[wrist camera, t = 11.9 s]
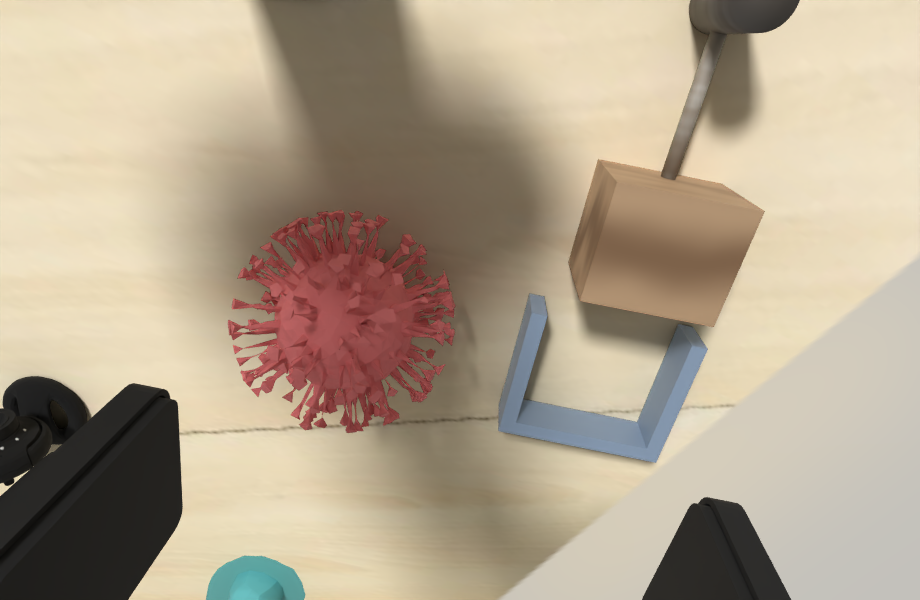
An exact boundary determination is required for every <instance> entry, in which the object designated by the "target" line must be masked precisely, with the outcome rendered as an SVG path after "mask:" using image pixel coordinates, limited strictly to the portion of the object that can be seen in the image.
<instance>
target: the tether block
mask: <svg viewBox="0 0 920 600" xmlns="http://www.w3.org/2000/svg"><path fill="white" fill-rule="evenodd" d="M799 1H800V0H690V5H689V15H690V19H691V22H692V24H693V25H694V27H695V28H696V29H697V30H699V31H700V32H702V33H704V34H708V35H709V36H708V39H707V42H706V45H705V48H704V51H703V54H702V57H701V60H700V62H699V65H698V68H697V71H696V74H695V77H694V80H693V83H692V86H691V89H690V91H689V94H688V97H687V100H686V103H685V106H684V109H683V112H682V115H681V118H680V121H679V123H678V126H677V129H676V132H675V135H674V138H673V141H672V144H671V147H670V150H669V153H668V155H667V158H666V161H665V164H664V167H663V170H662V172H660V171H655V170H650V169H645V168H640V167H635V166H630V165H625V164H620V163H614V162H609V161H604V160H599V159H598V162H597V165H596V169H595V172H594V176H593V179H592V182H591V186H590V189H589V193H588V196H587V200H586V203H585V207H584V210H583V214H582V217H581V221H580V224H579V227H578V231H577V234H576V238H575V241H574V245H573V248H572V252H571V255H570V259H569V262H568V263H569V266H570V269H571V272H572V276H573V279H574V282H575V286H576V289H577V292H578V296H579V299H580V301H582V302H587V303H592V304H597V305H603V306H608V307H613V308H618V309H623V310H628V311H633V312H639V313H644V314H649V315H654V316H659V317H664V318H669V319H674V320H680V321H685V322H690V323H695V324H700V325H705V326H710V327H714V325H715V323H716V321H717V318H718V316H719V314H720V312H721V309H722V307H723V305H724V303H725V300H726V298H727V296H728V293H729V291H730V289H731V287H732V284H733V282H734V280H735V278H736V275H737V273H738V271H739V269H740V266H741V264H742V262H743V259H744V257H745V255H746V253H747V250H748V248H749V246H750V244H751V241H752V239H753V237H754V235H755V232H756V230H757V228H758V226H759V223H760V221H761V219H762V216H763V214H764V212H765V211H763V210H762V209H760V208H759V207H757V206H756V205H754V204H752V203H751V202H749V201H748V200H746V199H745V198H743V197H742V196H740V195H738V194H737V193H735V192H734V191H732V190H731V189H729V188H728V187H726V186H724V185H723V184H720V183H715V182H710V181H705V180H700V179H695V178H690V177H685V176H680V175H677V174H678V171H679V168H680V165H681V163H682V160H683V157H684V154H685V151H686V149H687V146H688V143H689V140H690V137H691V135H692V132H693V129H694V126H695V123H696V121H697V118H698V115H699V112H700V109H701V107H702V104H703V101H704V98H705V95H706V93H707V90H708V87H709V84H710V81H711V79H712V76H713V73H714V70H715V67H716V65H717V62H718V59H719V56H720V53H721V51H722V48H723V45H724V42H725V39H726V37H727V34H745V33H764V32H768V31H771V30H774V29H776V28H777V27H779V26H781V25H782V24H783V23H784V22H786V21H787V20H788V19H789V18H790V16H791V15H792V14H793V12H794V11H795V9H796V8H797V5H798V3H799Z"/></svg>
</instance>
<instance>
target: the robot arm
mask: <svg viewBox="0 0 920 600" xmlns="http://www.w3.org/2000/svg"><path fill="white" fill-rule="evenodd" d="M182 507H183V506H182V485H181V463H180V441H179V419H178V404H177V402H176V401H175V400H172V399H170V395H169V393H168V391H167V390H165V389H160V388H155V387H150V386H145V385H140V384H135V383H133V384H129V385H128V386H127V387H125V388H124V389H123V390H122V391H121V392H119V393H118V394H117V395H116V396H115V397H114V398H113V399H112V400H111V401H110V402H108V403H107V404H106V405H105V406H104V407H103V408H102V409H101V410H100V411H99V412H97V413H96V414H95V415H94V416H93V417H92V418H91V419H90V420H89V421H88V422H86V423H85V424H84V425H83V426H82V427H81V428H80V429H79V430H78V431H76V432H75V433H74V434H73V435H72V436H71V437H70V438H69V439H68V440H67V441H65V442H64V443H63V444H62V445H61V446H60V447H59V448H58V449H57V450H56V451H54V452H51V453H50V454H48V455H47V456H46V457H44V458H43V459H41V460H40V461H39V462H38V463H37V464H36V465H35V466H34V467H32V468H31V469H30V470H29V471H28V472H27V473H26V474H25V475H24V476H22V477H21V478H20V479H19V480H18V481H17V482H16V483H15V484H14V485H12V486H11V487H10V488H9V489H8V490H7V491H6V492H5V493H3V494H2V495H1V496H0V600H128V599H129V597H130V596H131V594H132V593H133V591H134V590H135V588H136V587H137V586H138V584H139V583H140V581H141V580H142V578H143V577H144V575H145V574H146V572H147V571H148V569H149V568H150V566H151V565H152V563H153V562H154V560H155V559H156V557H157V556H158V554H159V553H160V551H161V550H162V549H163V547H164V546H165V544H166V543H167V541H168V540H169V538H170V537H171V535H172V534H173V532H174V531H175V529H176V527H177V525H178V523H179V521H180V518H181V514H182ZM642 600H791V598H790V597H789V595H788V593H787V591H786V589H785V587H784V585H783V583H782V582H781V579H780V577H779V575H778V573H777V572H776V570H775V568H774V566H773V564H772V562H771V560H770V558H769V556H768V555H767V553H766V551H765V549H764V547H763V545H762V543H761V541H760V539H759V537H758V535H757V533H756V531H755V529H754V527H753V526H752V524H751V522H750V520H749V518H748V516H747V514H746V512H745V510H744V509H743V508H742V506H741V505H739V504H738V503H733V502H729V501H724V500H718V499H713V498H708V497H706V498H703V499H701V501H700V502H699V503H698V504H695V503H694V504H692V505H691V506H690V507H689V509H688V511H687V513H686V514H685V516H684V518H683V520H682V522H681V524H680V526H679V528H678V530H677V532H676V534H675V536H674V538H673V540H672V542H671V544H670V546H669V547H668V550H667V551H666V553H665V555H664V557H663V559H662V561H661V563H660V565H659V567H658V569H657V571H656V573H655V575H654V577H653V579H652V581H651V582H650V584H649V587H648V588H647V590H646V592H645V594H644V596H643V599H642Z"/></svg>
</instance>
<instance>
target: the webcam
mask: <svg viewBox="0 0 920 600" xmlns="http://www.w3.org/2000/svg"><path fill="white" fill-rule="evenodd" d="M51 400H54V401H56V402H57V403H58V404H59V405H60V406H61V407H62V408H63V409H64V411H65V412H66V414H67V417H68V425H67V427H66V428H64V429H58V428H57V426H56V424H55V423H54V421H53V418H52V415H51V411H50V402H51ZM3 408H4V409H0V483H4V484H5V485H6V486H9V485H11V484H13V483H14V478H15V477H17V476H19V475H21V474H23V473H25V472H26V471H28V470H30V469H31V468H32V467H33V466H35V465H36V464H37V463H38V462H39V461H40V460H41V459H43V458H44V457H45V456H46V454H47V453H48V451H49V449H50V447H51V444H63V443H64V442H65V441H67V440H68V439H69V438H70V437H71V436H72V435H73V434H74V433H75V432H76V431H78V430H79V429H80V428H81V427H82V426H83V425H84V424H85V423H86V422H87V415H86V411H85V408H84V406H83V404H82V402H81V401H80V400H79V398H78V397H77V396H76V395H75V394H74V393H73V392H72V391H71V390H69V389H68V388H66V387H65V386H63V385H62V384H60V383H58V382H57V381H55V380H52V379H49V378H44V377H39V376H31V377H25V378H21V379H18V380H16V381H15V382H13V383H12V384H11V385H10V386H9V387H8V388H7V389H6V391H5V393H4V396H3Z"/></svg>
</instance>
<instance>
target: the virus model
mask: <svg viewBox="0 0 920 600" xmlns="http://www.w3.org/2000/svg"><path fill="white" fill-rule="evenodd" d="M327 212H328V211H327ZM327 212H320V213H317V214H318V215H319V216H318V217H314V218H311V221H312V222H313V223H314V226H311V227H308V217H305V218H298V219H296V220H295V221H293V222H292V223H290V225H289V224H288V225H286V226H285V227H283V228H282V227H281V228H280V229H279V230H278V231H276V232H275V233H273V235H272V236H270V237H271V238H273V239H274V240H276V241H277V242H279V243H280V244H282V245H283V246H285V247H286V248H287V250H288V251H289V253H290V254H291V256H292V257H293V259H294V260H295V261H296V264H295V265H294V266H293V268H291V267H290V266H289V265H288V264H286V263H285V262H284V261H283V260H282V258H280V256H279V255H278V254H277V253H276V251H275V250H274V248H273V246H272V244H271V242H269V243H268V244H266V245H264V246H262V247H260V248H261V249H263V250H265V251H267V252H269V253H271V254H273V255H274V256H276V257H278V258H279V259H278V260H276V261H275V260H274V258H273V257H272V256H271V257H270V258H269V259H268V260H267V261H266V262H265V263H264V262H263V258H262V259H260V260H259V259H258V258H257V257H256V256H254V255H252V257H251V260H250V263H249V264H252V265H255V266H252V269H251V270H250V271H249V272H248V270H247V269H246V268H245V267H244V268H243V269H241V272H240V274H239V276H238V278H246V280H252V279H254V280H256V281H258V282H259V283H261V284H263V285H264V286H266V287H268V288H270V291H271V292H270V293H268V292H267V291H266V292H265V293H264V295H263V297H262V299H261V301H263V302H266V303H267V304H266V306H265V305H261V304H255V305H252V304H247V303H245V302H242V301H239V300H236V299H234V298H233V303H232V309H241V308H251V307H253V308H257V309H262V310H266V311H267V313H268V314H270V313H272V312H275V321H267V322H264V323H259V322H257V321H256V320H254V319H253V320H248V323H249V325H248V326H241V325H238V324H236V323H234V322H232V321H230V320H228V328H229V335H231V336H232V339H233V340H234V339H236V338H237V337H239V336H241V335H242V334H256V335H258V334H269V333H276V334H277V339H273V340H270V341H266V342H263V343H260V344H256V345H253V346H249V347H246V348H252V347H259V346H267V345H268V347H267V349H266V350H265V351H264V352H263V353H265V352H267V353H266V354H263V353H262V354H261V353H260V354H261V355H260V356H259V357H258V358H259V359H260V360H261V362H262V363H263V365H262V366H260V367H258V368H256V369H254V370H249V371H241V374H242V376H243V380H244V381H245V382H246V384H247V385H248V386H249V387H251V385H252V382H253V380H254V379H256V378H258V377H259V376H260V377H262V376H263V374H265V373H267V372H268V371H270V370H272V369H274V370H276V371H277V372H276V373H275V374H274V376H270V377H268V378H266V379H265V380H267V381H263V382H262V385H261V387H260V388H255V389H251V390H252V391H253V392H254V393H255V394H256V395H257V396H259V393H260V391H261V389H262V390H263V391H264V392H265V393H269V392H271V391H272V388H273V386H274V383H275V380H276V379H277V378H279V377H280V376H281V375H283V374H284V373H287V374H288V370H289V375H288V376H287V377H286V378H287V380H288V381H289V382H290V384H292V386H293V387H294V390H293V391H291V392H290V393H288V394H287V395H285V396H283V397H282V398H284V399H286V400H288V401H290V402H292V398H293V392H294V391H295V390H296V389H297V390H301V389H302V388H303V387H305V386H306V385H307V381H306V379H308V380H309V381H311V384H310V386H309V388H308V390H307V392H306V394H305V396H304V398H303V400H302V402H301V403H300V404H299V406H298V407H297V408H296V409H295V410H294V411H293V412H292V414H291V415H292V416H294V417H296V418H297V419H299V420H300V418H299V415H300V411H301V409H302V407H303V405H304V403H305V401H306V399H307V397H308V395H309V393H310V391H311V390H312V388H313V386H314V392H313V396H312V397H311V398H310V399H309V400H308V401H307V403H306V404H305V405H307V406H308V407H310V409H309V410H307V411H306V414H305V416H304V417H303V418H304V421H303V422H302V423H301V424H299V425H300V426H301V427H302V428H303V429H304V430H309V429H312V426H311V422H312V421H313V418H317V416H316V413H320V411H322V415H323V412H325V413H327V412H328V413H329V414H330V413H332V412H335V411H338V410H337V408H336V405H344V408H345V411H344V415H343V417H342V419H341V421H340V423H341V424H342V425H343V426H346V425H347V428H346V431H347V433H353V432H357V431H363V429H362V427H366V426H369V423H368V421H369V420H371V419H372V418H371V415H373V414H374V417H375V416H380V417H385V419H384V423H383V426H384V425H386V424H389V423H392V422H393V421H394V420H396V419H398V418H399V413H397V412H396V411H394V410H393V409H391V408H390V407H389V406H388V402H387V399H386V395H385V392H384V388H383V385H382V382H381V380H382V379H385V378H386V377H387V376H388V375H389V374H390V375H391V376H392V377H393V378H394V379H395V380H396V381H397V382H398V383H399V384H400V385H401V386H402V387H403V388H405V389H407V390H409V392H410V396H411V399H412V402H416V401H418V402H422V401H423V400H424V399H426V398H427V396H426V395H427V394H428V393H429V392H431V390H432V387H433V386H432V384H430V382H431V380H432V379H433V377H434V374H435V371H436V373H437V375H439V374H440V372H441V371H442V369H443V367H444V366H445V364H444V365H442V366H439V367H437V366H434V365H432V366H433V368H434V370H423V369H421V368H420V367H418V366H417V365H415V364H414V363H413V362H412V361H411V360H410V359H409V358H412V359H414V362H415V363H416V362H421V361H424V362H427V363H429V362H428V361H427V360H426V359H425V358H424V357H423V356H422V355H421V354H419V353H418V352H416V351H414V350H417V351H422V352H425V351H424V350H422V349H420V348H418V347H416V346H414V345H412V344H411V339H412V337H428V338H434V339H435V340H436V341H438V342H439V343H440V344H441V345H442V346H443V343H444V340H446V341H447V342H448V343H449V344H450V345H451V346H452V342H453V337H454V334H455V331H454V329H451V326H450V322H449V323H447V324H445V323H444V322H442V321H441V320H442V318H443V314H445V315H448V316H450V317H453V318H454V308H455V307H456V306H455V304H454V301H453V298H452V293H451V292H449V291H446V292H443V293H442V292H439V293H435V295H434V296H433V297H431V294H427V293H428V292H432V291H435V290H437V289H438V288H443V289H448V290H449V286H448V285H450V284H449V283H448V282H449V281H448V279H447V276H446V274H445V272H444V274H443V275H442V276H440V277H439V278H437V279H435V280H434V281H439V282H438V284H437V285H436V286H434V287H430V288H426V289H422V288H424V287H425V286H427V285H429V284H433V281H432V279H431V277H430V276H429V277H426V279H425V280H424V282H423V283H422V284H418V285H414V286H412V287H411V288H409V289H406V288H405V285H406V284H407V283H409V282H410V281H412V280H413V279H415V278H416V279H419V280H421V279H422V278H423V277H424V276H426V275H425V274H424V272H423V271H422V270H421V269H418V270H417V271H416V277H415V278H413V279H411V280H409V281H407V282H405V283H404V281H403V277H404V276H406V275H407V274H409V273H410V272H411V271H412V270H414V269H415V268H416V267H417V266H418V265H417V266H416V267H415V268H414V269H412V270H411V271H410V272H409V273H407V274H406V275H404V276H402V275H403V274H404V273H405V271H406V270H407V269H408V267H409V266H410V265H413V264H418V263H419V265H424V264H427V262H426V260H425V259H423V258H422V257H421V256H420V259H419V257H418V256H419V255H426V253H425V251H427V250H426V249H425V248H424V246H423V245H419V247H418V249H417V250H416V251H415V252H414V253H413V254H412V255H410V257H409V258H408V259H407V260H406V261H405V262H403V263H401V264H400V265H398V266H397V267H395V268H394V269H393V265H394V263H395V262H396V261H397V259H398V258H399V257H400V256H404V255H409V247H410V246H412V245H414V244H416V242H415V241H414V240H413V239H412V237H411V235H410V234H403V236H402V242H401V243H400V249H398V250H397V251H396V252H395V254H394V255H393V256H392V257H391V259H390V260H389V261H388V262H386V263H383V262H381V261H379V259H380V258H382V257H383V255H384V253H385V251H386V250H383V249H381V248H380V249H378V250H377V251H375V248H376V243H377V239H378V234H379V232H378V229H379V228H381V227H382V226H383V225H384V224H385V223H386V222H387V221H388V219H386V218H384V217H382V216H380V215H378V216H377V217H376V222H375V221H373V220H371V219H366V220H364V221H365V223H362V222H359V220H360V218H361V216H362V215H363V213H361V212H359V211H356V212H355V213H349V214H350V216H351V217H352V218H353V222H351V224H352V226H353V227H352V226H350V228H349V230H348V233H347V234H348V236H349V238H350V244H349V247H348V249H347V252H346V249H345V245H344V241H343V237H342V232H341V231H342V226H343V222H344V218H345V215H344V212H343V211H342V210H339V211H335V212H332V213H327ZM327 216H328V217H329V219H330V220H331V222H332V225H333V222H334V220H335V218H336V219H337V221H338V222H339V233H338V238H337V235H336V232H335V229H334V225H333V242H332V240H331V238H330V235H329V233H328V231H327V222H326V217H327ZM321 218H322V219H323V221H324V223H325V226H323V225H321V224H320V220H321ZM357 220H358V222H356V221H357ZM301 224H304V225H305V227H306V228H307V230H308V232H309V236H310V239H311V240H310V239H309V238H308V237H307V236H306V235H305V234H304V232H303V230H302V228H301ZM363 226H364V228H365V231H366V233H367V238H366V244H365V247H364V250H363V253H362V255H359V254H358V251H359V250H360V248H361V246H362V245H363V243H364V242H365V241H363V240H360V239H357V237H358V234H359V232H360V230H361V229H362V227H363ZM375 227H377V232H376V233H375V235H374V237H373V239H372V241H371V243H370V245H369V247H368V240H369V234H370V233H371V232H372V231H373V230H374V229H375ZM288 229H290V230H289V231H288ZM324 229H325V230H326V245H325V242H324V240H323V237H322V234H323V231H324ZM298 231H299V232H300V234H301V235H302V238H301V237H300V235H299V232H298ZM287 235H288V236H290V237H292V238H293V239H295V240H297V245H298V247H299V249H300V250H299V249H298V248H297V247H296V246H295V245H294V244H293V243H292V242H291V241H290V240H289V239H288V238H287ZM312 236H313V237H315V238H316V239H318V240H319V244H320V248H321V253H322V254H321V253H319V250H318V248H317V246H316V244H315V241H314V239H313V237H312ZM286 238H287V239H288V241H289V242H290V244H291V246H292V247H293V249H294V250H295V252H296V253H295V252H294V251H293V250H292V249H291V248H290V247H289V246H288V244H287V243H286ZM286 245H287V246H288V247H287V246H286ZM357 245H358V250H357ZM367 247H368V249H367ZM375 253H376V254H375ZM417 253H418V254H417ZM375 257H377V259H375ZM264 264H268V265H272V266H273V268H277V269H278V271H279V273H280V274H282V275H284V276H286V277H281V276H279V275H277V274H275V273H274V272H273V271H271V270H270V269H269V268H268V267H267V266H264ZM283 264H284V265H285V266H286V267H287V268H286V267H285V266H283ZM281 268H284V269H285V270H286V271H287V272H288V273H287V272H286V271H284V270H283V269H281ZM260 269H264V271H266V272H267V273H268V274H269V275H271V276H272V277H271V276H269V275H267V274H265V273H263V272H261V271H260ZM443 271H444V269H443ZM256 273H261V274H262V275H263V276H265V277H266V278H267V279H269V280H267V279H265V278H263V277H260V276H258V275H256ZM238 278H237V279H238ZM258 279H259V280H258ZM424 284H425V285H424ZM421 285H422V286H421ZM424 293H425V294H424ZM279 295H281V297H280V296H279ZM419 295H424V296H423V297H418V296H419ZM269 301H272V302H273V304H274V305H275V306H272V304H271V303H268V302H269ZM428 303H430V304H428ZM439 304H442V305H444V306H445V307H447V308H448V309H449V310H447V311H445V312H444V309H445V308H437V309H436V311H435V312H434V310H433V307H436V306H437V305H439ZM424 309H425V310H424ZM420 310H423V311H420ZM418 311H420V312H418ZM421 312H425V313H421ZM425 315H435V316H434V317H431V318H420V317H421V316H425ZM421 319H423V320H421ZM428 319H429V320H435V321H436V322H434V323H432V324H430V325H429V323H428ZM419 320H420V321H419ZM241 328H246V329H249V331H251V330H255V331H251V332H246V333H241V332H237V331H238V330H239V329H241ZM256 329H259V330H256ZM450 329H451V330H450ZM442 330H444V332H443V331H442ZM437 332H440V333H438V334H437ZM425 333H428V334H429V335H430V336H429V335H427V334H425ZM444 333H446V334H447V335H449V336H450V338H448V339H444V338H445V336H444ZM274 344H277V345H274ZM270 345H274V346H270ZM233 347H234V352H235V354H236V353H237V352H239V351H240V350H242V349H245V348H240V347H237V346H234V345H233ZM280 348H281V349H280ZM412 349H413V350H412ZM434 353H435V351H434V350H432V349H430V350H428V351H427V352H426V354H427V357H428V358H432V359H433V356H434ZM258 355H259V354H258ZM255 356H257V355H255ZM252 357H254V356H252ZM252 357H245V358H237V361H238V363H239V366H241V365H242V364H244V363H245V362H246V361H247V360H249V359H250V358H252ZM407 362H408V363H410V364H412V365H414V366H416V367H418V368H420V369H421V370H422V372H423V374H424V375H425V377H426V378H423V377H421V376H420V375H419V374H418V373H417V372H416V371H415V370H413V369H412V367H410V366H409V365H408V364H407ZM429 364H430V363H429ZM430 365H431V364H430ZM397 366H399V367H400V368H402V369H403V370H404V371H405V372H407V373H408V374H409V375H410V376H412V377H413V378H414V380H415V381H416V382H420V385H421V387H422V390H423V392H424V393H422V392H418V391H415V390H414V389H413V388H412V387H411V386H410V385H409V384H408V383H407V382H406V381H405V380H404V379H403V377H402V376H401V374H400V372H399V371H398V369H397V368H396V367H397ZM292 368H293V369H292ZM278 369H279V370H278ZM253 371H255V374H254V372H253ZM251 372H253V373H252V374H251ZM255 375H257V376H256V377H254V376H255ZM400 379H401V380H402V381H403V382H404V383H405V384H406V385H407V386H409V387H410V388H409V387H407V386H405V385H404V383H403V382H402V381H401V380H400ZM385 381H386V380H385ZM386 382H387V381H386ZM387 384H388V385H389V390H388V395H387V396H395V394H396V393H397V392H398V391H397V390H395V389H393V388H392V387H390V384H389V383H388V382H387ZM337 389H338V391H337ZM341 389H342V391H341ZM324 391H325V393H324V402H323V403H322V404H321V405H319V399H320V397H321V396H322V394H323V392H324ZM336 391H337V393H336ZM342 392H343V394H342ZM335 393H336V395H335ZM365 393H366V395H367V398H368V401H369V403H368V407H367V403H366V397H365ZM369 394H370V395H369ZM334 396H335V397H334ZM357 398H359V401H360V403H361V406H362V409H363V412H364V421H363V423H362V425H360V424H359V422H358V420H357V415H356V414H355V423H354V424H353V422H352V402H353V404H354V407H355V413H356V403H357ZM329 400H330V401H329ZM376 402H378V403H379V405H380V408H379V407H378V406H377V405H376V404H375V403H376ZM346 403H347V407H348V412H349V417H348V414H347V411H346ZM372 403H373V404H374V406H373V404H372ZM384 403H385V405H386V406H387V408H388V410H387V409H386V408H385V406H384ZM314 425H316V426H318V427H321V428H325V427H326V426H327V424H326V423H325V421H324V419H323V418H321V419H320V420H318V421H317V422H315V423H314Z"/></svg>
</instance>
